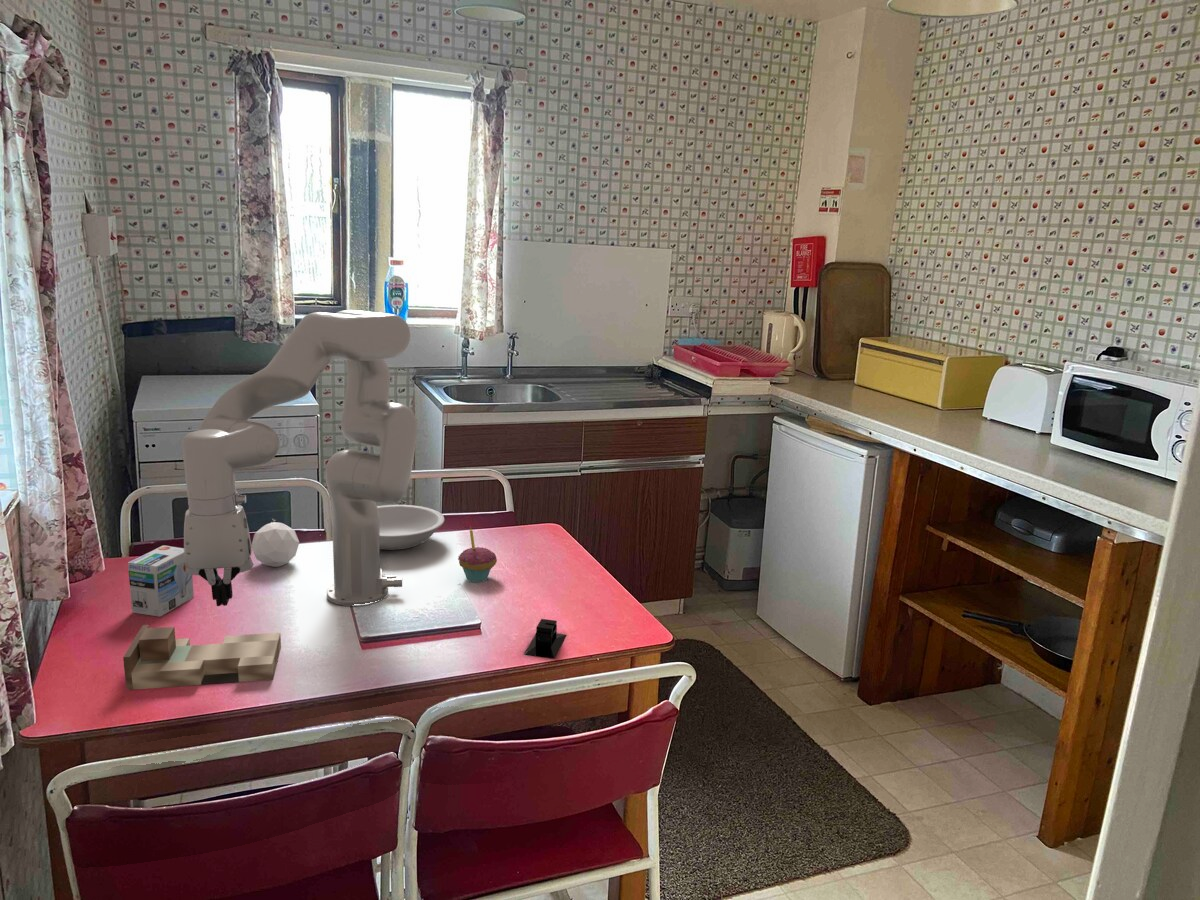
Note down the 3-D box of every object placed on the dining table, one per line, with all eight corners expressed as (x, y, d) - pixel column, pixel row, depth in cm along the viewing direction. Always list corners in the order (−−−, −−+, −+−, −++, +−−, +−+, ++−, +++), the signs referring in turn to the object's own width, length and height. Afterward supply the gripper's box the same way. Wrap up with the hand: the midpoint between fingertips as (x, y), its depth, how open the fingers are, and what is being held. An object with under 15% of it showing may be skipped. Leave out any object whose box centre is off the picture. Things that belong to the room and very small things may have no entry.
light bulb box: (160, 618, 171) (156, 566, 168) (130, 613, 172) (125, 562, 169) (195, 596, 181) (192, 548, 178) (167, 592, 182) (163, 544, 180)
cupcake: (451, 581, 195) (451, 530, 192) (470, 568, 202) (471, 519, 199) (484, 588, 192) (485, 537, 189) (503, 575, 199) (504, 525, 196)
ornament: (252, 574, 193) (252, 554, 206) (301, 569, 196) (298, 550, 210) (249, 531, 191) (249, 514, 204) (299, 527, 194) (296, 511, 208)
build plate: (556, 665, 160) (557, 641, 159) (516, 659, 162) (516, 635, 161) (572, 634, 173) (573, 612, 172) (534, 629, 174) (535, 607, 173)
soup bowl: (417, 522, 232) (416, 499, 230) (462, 550, 214) (462, 524, 212) (329, 539, 217) (328, 513, 216) (370, 569, 199) (369, 542, 197)
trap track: (281, 647, 161) (279, 617, 160) (272, 679, 150) (271, 647, 148) (145, 656, 156) (142, 625, 154) (126, 690, 144) (123, 657, 143)
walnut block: (176, 647, 153) (174, 626, 152) (169, 659, 149) (167, 638, 148) (148, 649, 152) (146, 628, 151) (140, 661, 148) (138, 639, 147)
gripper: (263, 493, 151) (271, 590, 156) (170, 498, 148) (181, 596, 153) (257, 508, 144) (266, 608, 149) (159, 513, 141) (171, 615, 146)
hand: (223, 602), depth 151 cm, fingers closed
